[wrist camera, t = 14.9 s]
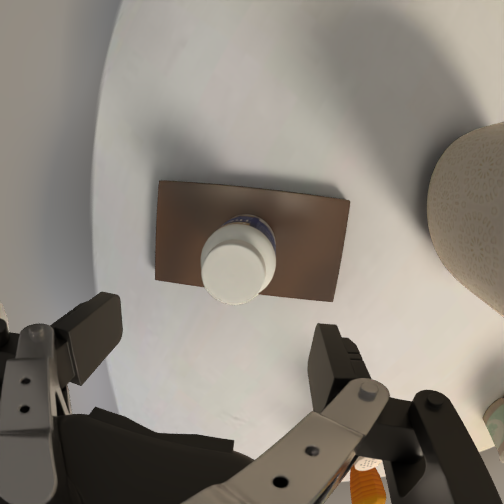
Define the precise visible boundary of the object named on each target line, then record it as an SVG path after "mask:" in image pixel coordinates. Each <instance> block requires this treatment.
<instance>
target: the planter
mask: <svg viewBox="0 0 504 504" xmlns="http://www.w3.org/2000/svg"><path fill="white" fill-rule="evenodd" d="M427 220H428V227H429V232H430V236H431V239H432V242H433V245H434V248H435V250H436V252H437V254H438V256H439V258H440V260H441V261H442V263H443V264H444V266H445V267H446V268H447V270H448V271H449V272H450V273H451V274H452V275H453V276H454V277H455V278H456V279H457V280H458V281H459V282H460V283H461V284H462V285H463V286H465V287H466V288H467V289H468V290H469V291H471V292H472V293H473V294H474V295H476V296H477V297H478V298H480V299H481V300H482V301H483V302H485V303H486V304H487V305H489V306H490V307H491V308H493V309H494V310H495V311H496V312H498V313H499V314H500V315H501V316H503V317H504V122H502V123H497V124H493V125H489V126H486V127H482V128H479V129H476V130H474V131H471V132H469V133H467V134H465V135H463V136H461V137H460V138H458V139H457V140H455V141H454V142H453V143H452V144H451V145H450V146H449V147H448V148H447V149H446V150H445V152H444V153H443V154H442V156H441V157H440V159H439V161H438V162H437V164H436V166H435V169H434V171H433V174H432V177H431V180H430V184H429V190H428V197H427Z"/></svg>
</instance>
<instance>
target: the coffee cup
mask: <svg viewBox="0 0 504 504" xmlns="http://www.w3.org/2000/svg"><path fill="white" fill-rule="evenodd" d="M483 420H484V422H485V424H486V427H487V429H488V431H489V433H490V435H491V437H492V440H493V442H494V444H495V446H496V449H497V451H498V453H499V455H500V459H499V460H500V461H501V462H502V463H504V397H503V398H500V399H498V400H497V401H495V402H494V403H493V404H492V405H491V406H490V407H489V408H488V409H487V411H486V412H485V414H484V417H483Z"/></svg>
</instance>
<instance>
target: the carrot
mask: <svg viewBox="0 0 504 504" xmlns="http://www.w3.org/2000/svg"><path fill="white" fill-rule="evenodd" d="M350 491H351V500H352V504H385V501H386V493H385V490H384V487H383V483H382V481H381V478H380V475H379V473H378V472H377V470H376V468H375V467H374V468H372V469H369V470H366V471H359V470H356V469H355V466H354V465H353V466H352V468H351V472H350Z"/></svg>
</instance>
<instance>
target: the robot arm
mask: <svg viewBox="0 0 504 504" xmlns="http://www.w3.org/2000/svg"><path fill="white" fill-rule="evenodd" d="M122 332H123V327H122V315H121V301H120V297H119V296H118V295H116V294H111V293H106V292H100V293H99V294H97V295H96V296H95V297H93V298H92V299H91V300H89V301H87V302H84V303H81V304H79V305H78V306H76V307H75V308H74V309H73V310H71V311H69V312H68V313H67V314H65V315H64V316H63V317H61V318H60V319H58V320H57V321H56V322H54V323H53V324H52V325H50V326H49V325H46V324H33V325H29V326H27V327H25V328H24V329H23V330H22V331H21V332H20V334H17V333H10V332H9V331H8V327H7V323H6V321H5V320H3V319H1V318H0V504H324V503H325V502H326V500H327V499H328V498H329V496H330V495H331V494H332V492H333V491H334V490H335V489H336V487H337V486H338V485H339V483H340V482H341V481H342V480H343V478H344V477H345V476H346V474H347V473H348V472H349V470H350V469H351V468H352V466H353V465H354V463H355V462H356V461H357V459H358V458H359V456H362V457H367V458H372V459H378V460H382V461H383V465H384V470H385V474H386V479H387V483H388V488H389V492H390V498H391V503H392V504H503V503H502V501H501V498H500V496H499V494H498V492H497V489H496V487H495V485H494V483H493V481H492V478H491V476H490V474H489V472H488V470H487V468H486V466H485V464H484V462H483V460H482V458H481V456H480V454H479V452H478V450H477V448H476V446H475V444H474V442H473V440H472V438H471V437H470V435H469V433H468V431H467V429H466V427H465V426H464V424H463V422H462V420H461V418H460V417H459V415H458V413H457V411H456V410H455V408H454V406H453V405H452V403H451V401H450V400H449V399H448V398H447V397H446V396H445V395H443V394H442V393H440V392H437V391H433V390H423V391H420V392H418V393H417V394H416V395H415V397H414V399H413V401H412V402H411V401H405V400H400V399H395V398H391V397H390V394H389V391H388V389H387V388H386V387H385V386H384V385H383V384H381V383H380V382H378V381H375V380H373V379H371V377H370V375H369V372H368V370H367V368H366V366H365V363H364V361H362V357H361V355H360V352H359V350H358V348H357V346H356V344H354V343H353V342H352V341H351V340H350V339H349V338H342V337H341V335H340V332H339V330H338V327H337V325H331V324H319V323H318V324H317V325H316V328H315V332H314V337H313V341H312V346H311V350H310V355H309V359H308V377H309V384H310V390H311V397H312V404H313V411H312V412H310V413H309V414H308V415H307V416H306V417H305V418H304V419H302V420H301V421H300V422H299V423H298V424H297V425H296V426H295V427H294V428H293V429H291V430H290V431H289V432H288V433H287V434H286V435H285V436H283V437H282V438H281V439H280V440H279V441H278V442H276V443H275V444H274V445H273V446H272V447H270V448H269V449H268V450H267V451H266V452H264V453H263V454H262V455H261V456H259V457H258V458H257V459H256V460H254V459H252V458H250V457H248V456H246V455H244V454H241V453H239V452H236V451H233V447H234V440H228V439H221V438H215V437H209V436H203V435H198V434H167V433H157V432H154V431H152V430H150V429H148V428H146V427H144V426H142V425H140V424H138V423H136V422H134V421H132V420H130V419H129V418H127V417H125V416H122V415H118V414H115V413H112V412H109V411H106V410H103V409H100V408H97V407H95V408H94V409H93V410H92V412H91V413H90V414H89V415H85V414H72V409H71V403H70V395H69V389H68V386H67V384H68V383H69V382H72V383H75V384H77V385H80V386H82V384H83V383H84V382H85V381H86V380H87V379H88V378H89V376H90V375H91V374H92V373H93V372H94V371H95V369H96V368H97V367H98V366H99V365H100V364H101V362H102V361H103V360H104V359H105V358H106V357H107V356H108V354H109V353H110V352H111V351H112V350H113V349H114V348H115V346H116V345H117V344H118V343H119V342H120V340H121V337H122Z"/></svg>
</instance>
